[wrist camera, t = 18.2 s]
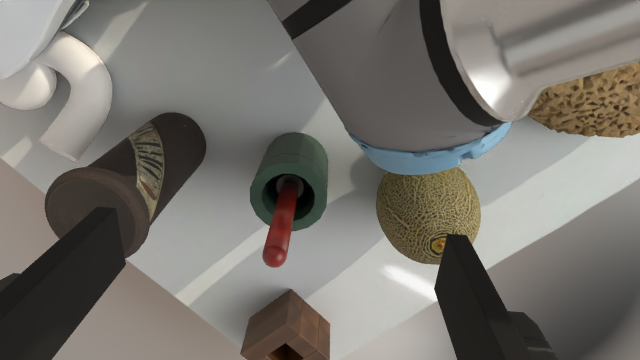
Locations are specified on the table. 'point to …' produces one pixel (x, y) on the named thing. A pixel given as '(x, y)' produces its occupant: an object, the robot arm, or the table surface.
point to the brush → (282, 219)
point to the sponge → (593, 104)
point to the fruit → (427, 212)
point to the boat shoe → (32, 29)
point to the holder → (287, 332)
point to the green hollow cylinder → (299, 159)
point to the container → (130, 179)
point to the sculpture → (85, 98)
